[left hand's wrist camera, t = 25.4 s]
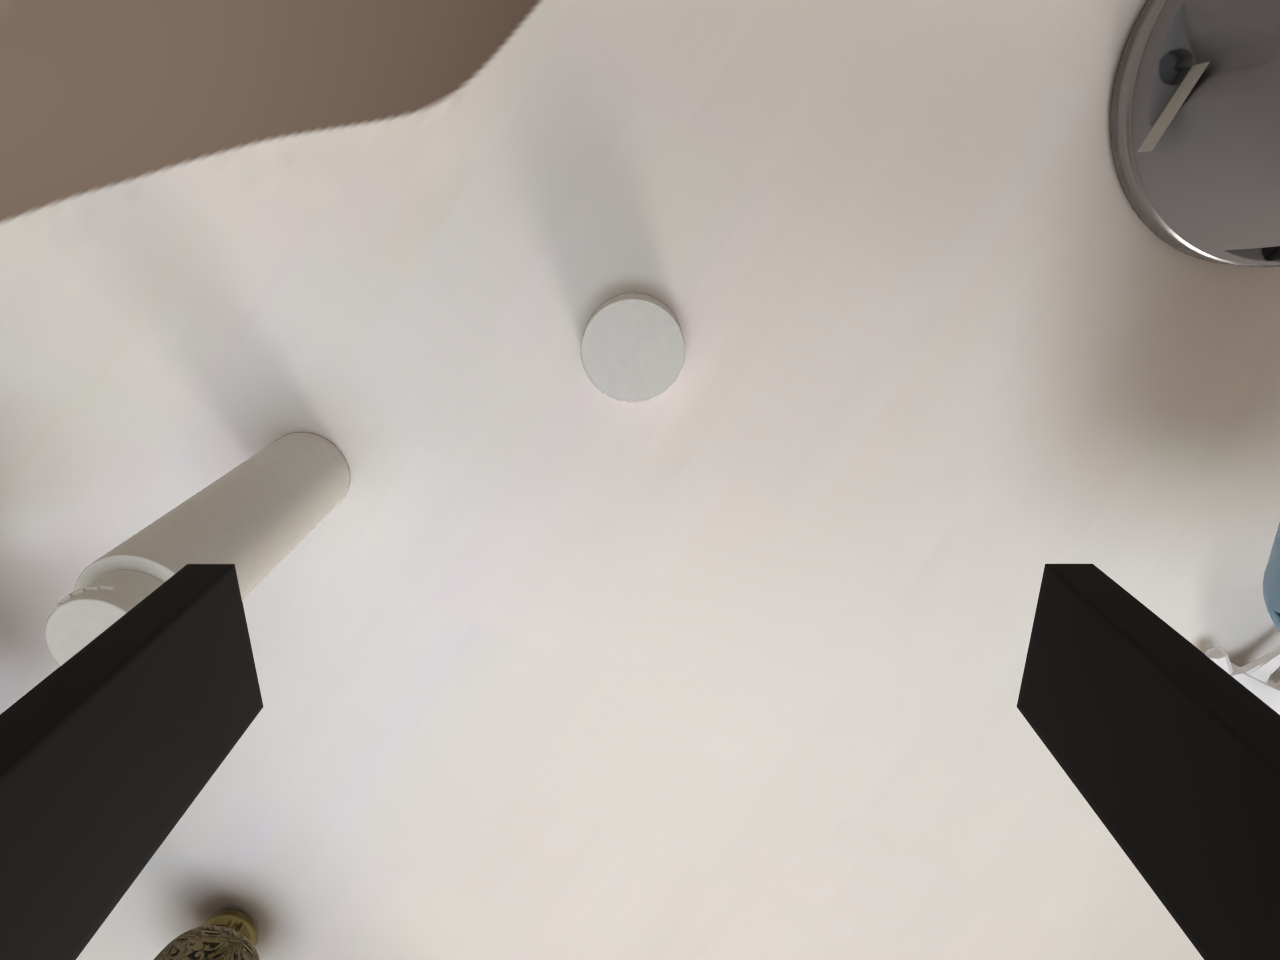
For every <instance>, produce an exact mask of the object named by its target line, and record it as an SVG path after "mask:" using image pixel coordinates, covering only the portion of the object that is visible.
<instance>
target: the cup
mask: <svg viewBox="0 0 1280 960" xmlns="http://www.w3.org/2000/svg"><path fill="white" fill-rule="evenodd" d="M257 942H258V927H257V925H256V923H255V921H254V920H253V919H252V918H251V917H250V916H248V915H247V914H245V913H243V912H240V911H236V910H223V911H220V912H217V913H215V914H214V915H212V916H211V917H210V918H208V919H207V920H206V921H205V922H204V923H203V925H202V927H198V928H195V929H192V930H189V931H187V932H185V933H183V934H182V935H180V936H178V937H177V938H176V939H174V940H173V941H172V942H170V943H169V944H168V945H167V946H166V947H165V948H164V949H163V950H162V951H161V952H160V953H159V954H158V955H157V957H156V958H155V959H154V960H259V956H258V953H257V951H256V949H255V947H256V945H257Z"/></svg>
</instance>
